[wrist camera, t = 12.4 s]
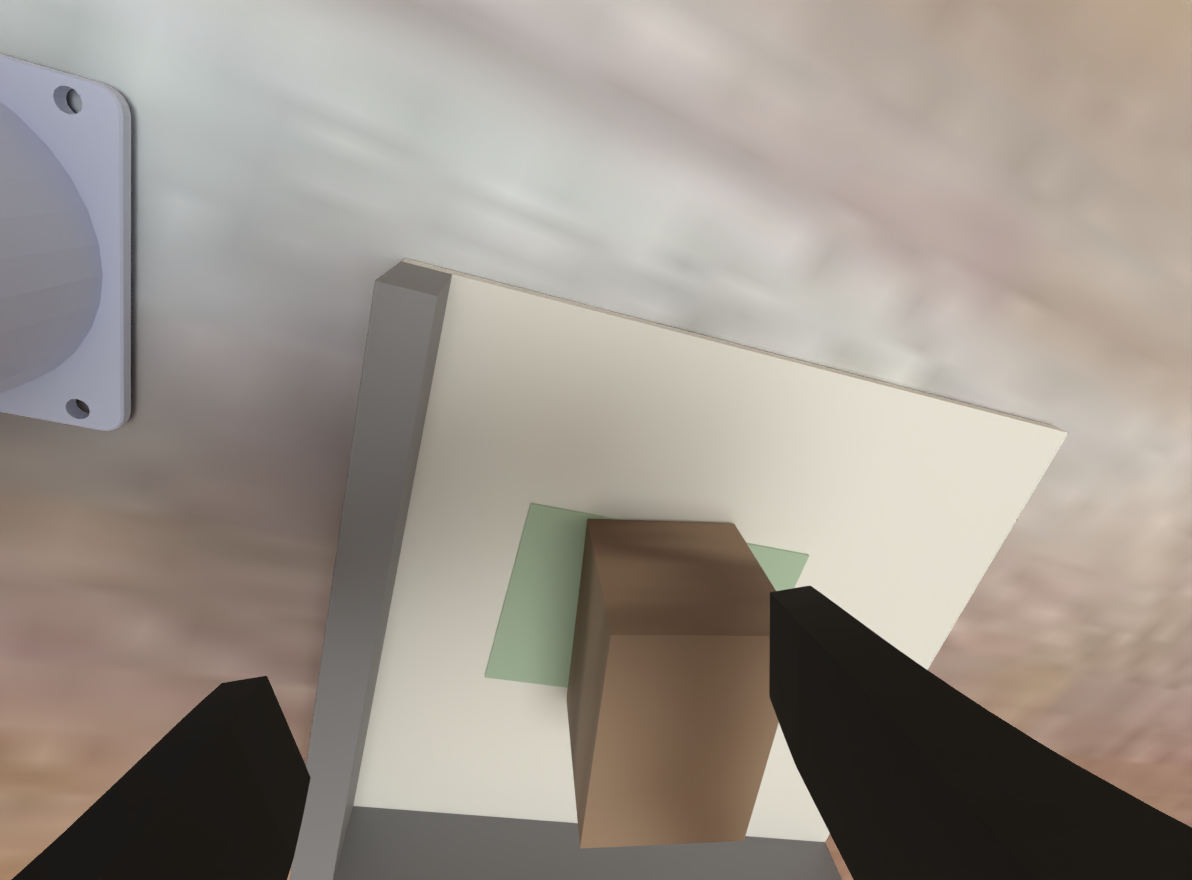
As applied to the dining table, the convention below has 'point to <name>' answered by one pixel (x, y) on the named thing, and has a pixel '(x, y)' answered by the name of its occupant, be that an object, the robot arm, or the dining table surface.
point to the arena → (555, 553)
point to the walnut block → (669, 684)
